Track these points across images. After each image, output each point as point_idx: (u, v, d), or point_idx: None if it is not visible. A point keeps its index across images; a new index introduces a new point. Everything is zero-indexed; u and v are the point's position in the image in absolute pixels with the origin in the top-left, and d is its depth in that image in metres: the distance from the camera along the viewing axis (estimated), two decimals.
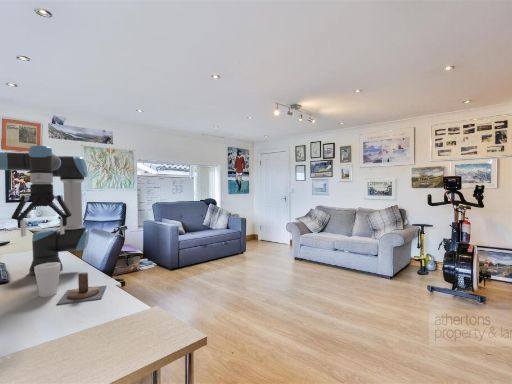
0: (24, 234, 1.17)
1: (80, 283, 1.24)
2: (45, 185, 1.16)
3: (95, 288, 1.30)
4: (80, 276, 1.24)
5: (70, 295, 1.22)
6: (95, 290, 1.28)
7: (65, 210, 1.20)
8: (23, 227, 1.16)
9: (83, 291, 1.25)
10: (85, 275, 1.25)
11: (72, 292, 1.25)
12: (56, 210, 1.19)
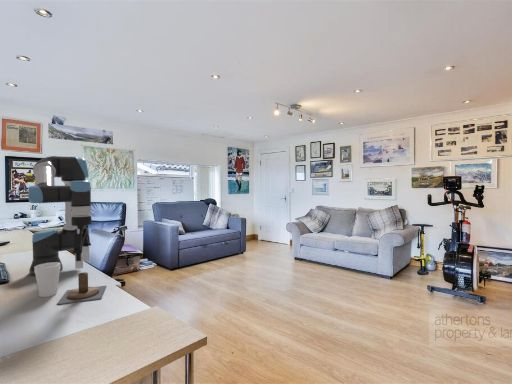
0: (85, 259, 1.32)
1: (80, 283, 1.24)
2: (72, 218, 1.22)
3: (95, 288, 1.30)
4: (80, 276, 1.24)
5: (70, 295, 1.22)
6: (95, 290, 1.28)
7: (74, 245, 1.17)
8: (84, 253, 1.31)
9: (83, 291, 1.25)
10: (85, 275, 1.25)
11: (72, 292, 1.25)
12: None
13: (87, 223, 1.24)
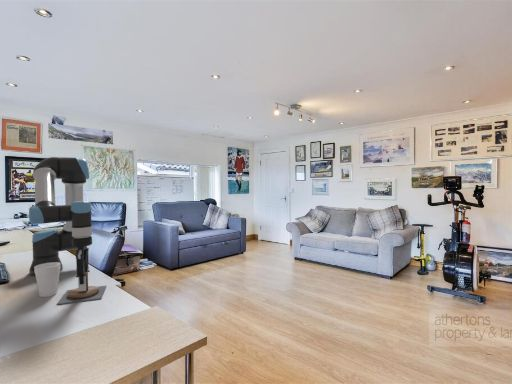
0: None
1: None
2: (73, 239, 1.22)
3: (95, 287, 1.30)
4: None
5: (70, 294, 1.22)
6: (95, 289, 1.28)
7: None
8: None
9: None
10: (85, 274, 1.25)
11: (72, 291, 1.25)
12: None
13: (88, 244, 1.24)
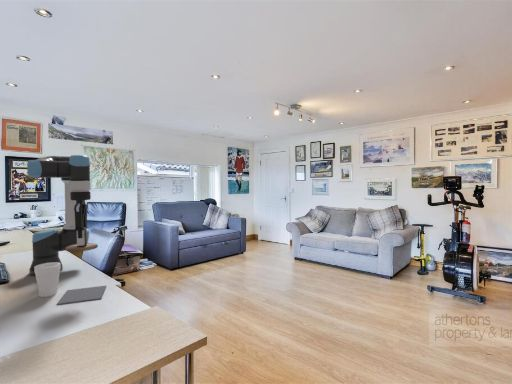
0: None
1: None
2: (71, 192, 1.22)
3: (94, 244, 1.30)
4: None
5: (69, 248, 1.22)
6: (94, 245, 1.27)
7: None
8: None
9: None
10: None
11: (70, 246, 1.25)
12: None
13: (86, 198, 1.24)
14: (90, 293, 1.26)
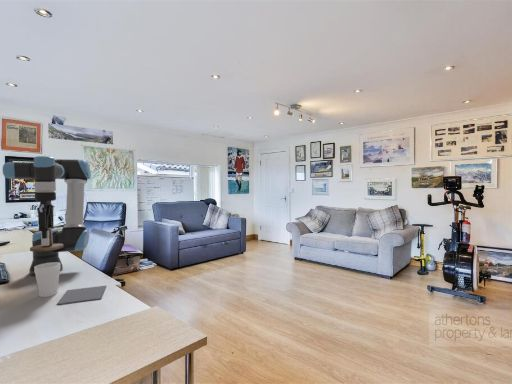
0: None
1: None
2: (35, 193, 1.23)
3: (60, 244, 1.31)
4: None
5: (33, 248, 1.23)
6: (59, 245, 1.28)
7: None
8: None
9: None
10: (48, 229, 1.26)
11: (35, 246, 1.26)
12: None
13: (50, 199, 1.25)
14: (90, 293, 1.26)
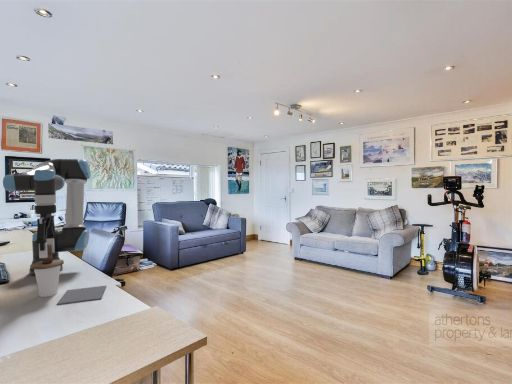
0: None
1: None
2: (35, 206, 1.23)
3: (60, 260, 1.31)
4: None
5: (33, 265, 1.23)
6: (59, 262, 1.29)
7: None
8: None
9: (47, 262, 1.26)
10: (49, 246, 1.26)
11: (36, 263, 1.26)
12: None
13: (51, 212, 1.25)
14: (90, 293, 1.26)
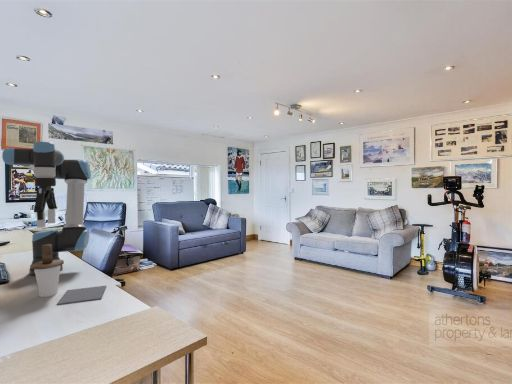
0: (51, 221, 1.33)
1: (44, 254, 1.25)
2: (35, 178, 1.23)
3: (60, 260, 1.31)
4: (43, 247, 1.25)
5: (33, 265, 1.23)
6: (59, 262, 1.29)
7: None
8: (49, 215, 1.33)
9: (47, 262, 1.26)
10: (49, 246, 1.26)
11: (36, 263, 1.26)
12: None
13: (50, 184, 1.25)
14: (90, 293, 1.26)
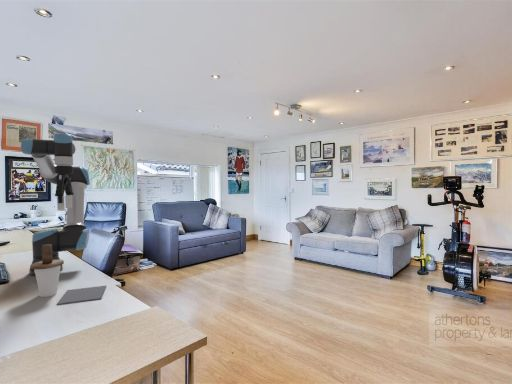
0: (68, 206, 1.47)
1: (44, 254, 1.25)
2: (55, 166, 1.37)
3: (60, 260, 1.31)
4: (43, 247, 1.25)
5: (33, 265, 1.23)
6: (59, 262, 1.29)
7: None
8: (66, 200, 1.47)
9: (47, 262, 1.26)
10: (49, 246, 1.26)
11: (36, 263, 1.26)
12: None
13: (69, 172, 1.39)
14: (90, 293, 1.26)
